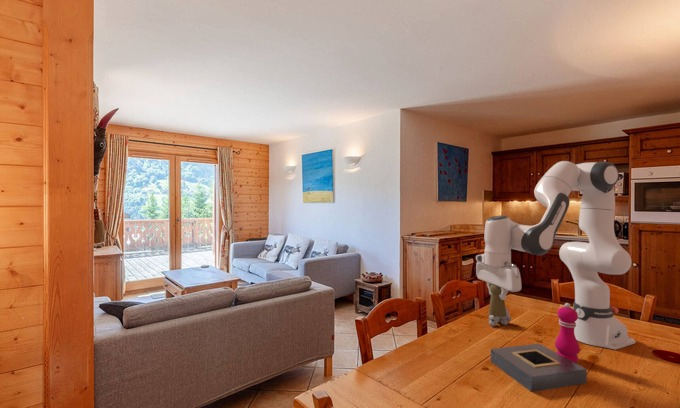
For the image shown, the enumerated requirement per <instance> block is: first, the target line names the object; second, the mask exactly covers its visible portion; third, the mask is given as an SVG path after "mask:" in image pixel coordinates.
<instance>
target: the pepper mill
mask: <svg viewBox="0 0 680 408" xmlns="http://www.w3.org/2000/svg"><path fill="white" fill-rule="evenodd" d="M556 313H557V317H558V324H559V325H560V330H559V334H558V335H557V337H556V338H555V342H554V347H555V348H556V350H557V351H556V353H558V354H559V355H561V356H563V357H565V358H567V359H569V360H571V361H572V362H574V363H576V364H578V362H579V356H578V354H579V353H580V351H581V348H580V344H579V341H578V340H576V337H575V334H574V328H575V327H576V322H575V321H576V320H577V319H578V314H577V312H576V311H575V310H574V308H573V307H571V304H570V303H568V302H566V303H564V306H561V307H559V308H558V310H557V312H556Z"/></svg>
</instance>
